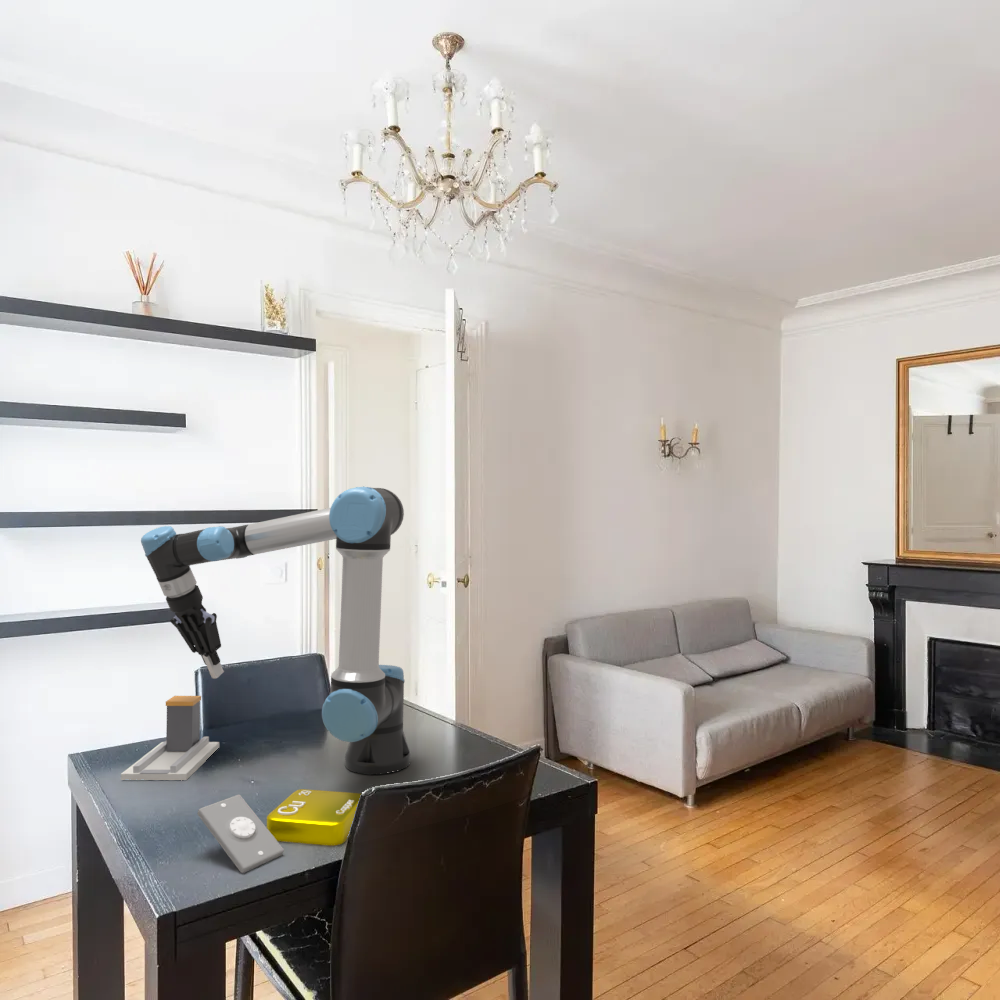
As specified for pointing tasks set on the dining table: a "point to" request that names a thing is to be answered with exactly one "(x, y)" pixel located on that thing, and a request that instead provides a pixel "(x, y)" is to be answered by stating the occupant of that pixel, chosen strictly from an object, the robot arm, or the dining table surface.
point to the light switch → (240, 833)
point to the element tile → (314, 817)
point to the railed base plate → (171, 762)
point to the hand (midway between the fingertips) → (218, 674)
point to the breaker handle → (182, 722)
